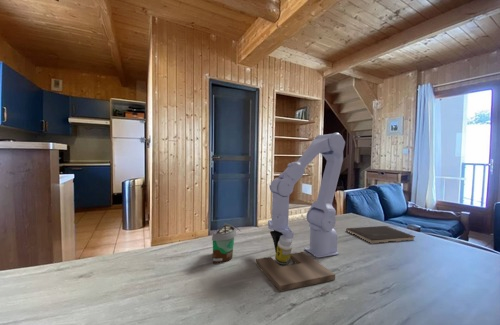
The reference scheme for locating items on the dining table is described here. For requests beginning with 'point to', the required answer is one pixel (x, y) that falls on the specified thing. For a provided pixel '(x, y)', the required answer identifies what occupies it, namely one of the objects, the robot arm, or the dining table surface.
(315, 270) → the notched board
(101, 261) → the dining table surface
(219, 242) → the food container
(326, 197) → the robot arm
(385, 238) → the dark brown flat board
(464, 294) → the dining table surface
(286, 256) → the supplement bottle
